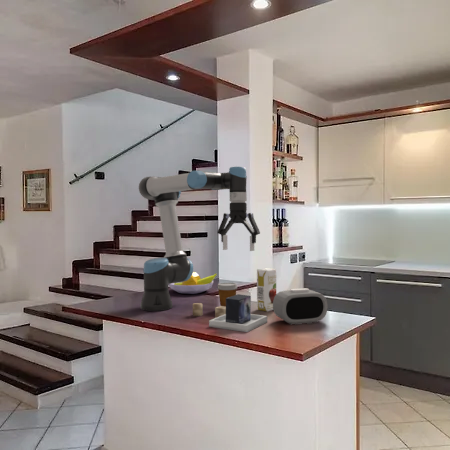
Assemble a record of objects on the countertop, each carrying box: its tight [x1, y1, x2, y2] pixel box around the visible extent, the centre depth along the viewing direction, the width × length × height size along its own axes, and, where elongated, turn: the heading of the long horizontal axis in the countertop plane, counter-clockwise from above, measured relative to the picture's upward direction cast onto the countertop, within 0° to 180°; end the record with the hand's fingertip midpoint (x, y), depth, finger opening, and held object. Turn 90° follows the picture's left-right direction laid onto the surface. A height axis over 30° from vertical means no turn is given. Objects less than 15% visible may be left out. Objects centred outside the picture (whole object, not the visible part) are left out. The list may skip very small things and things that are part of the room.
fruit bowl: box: [168, 271, 218, 295], centre depth 254 cm, size 28×27×11 cm
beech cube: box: [214, 305, 226, 318], centre depth 191 cm, size 4×4×4 cm
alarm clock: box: [272, 287, 329, 326], centre depth 182 cm, size 21×10×13 cm, turn 106°
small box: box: [226, 293, 252, 324], centre depth 179 cm, size 11×6×10 cm, turn 150°
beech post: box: [192, 302, 204, 317], centre depth 196 cm, size 4×4×5 cm
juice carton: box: [256, 267, 277, 312], centre depth 206 cm, size 8×9×19 cm
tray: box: [208, 313, 268, 333], centre depth 179 cm, size 17×18×2 cm
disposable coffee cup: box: [217, 282, 238, 306], centre depth 206 cm, size 10×10×12 cm
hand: (238, 250), depth 195 cm, fingers open, 13 cm apart
